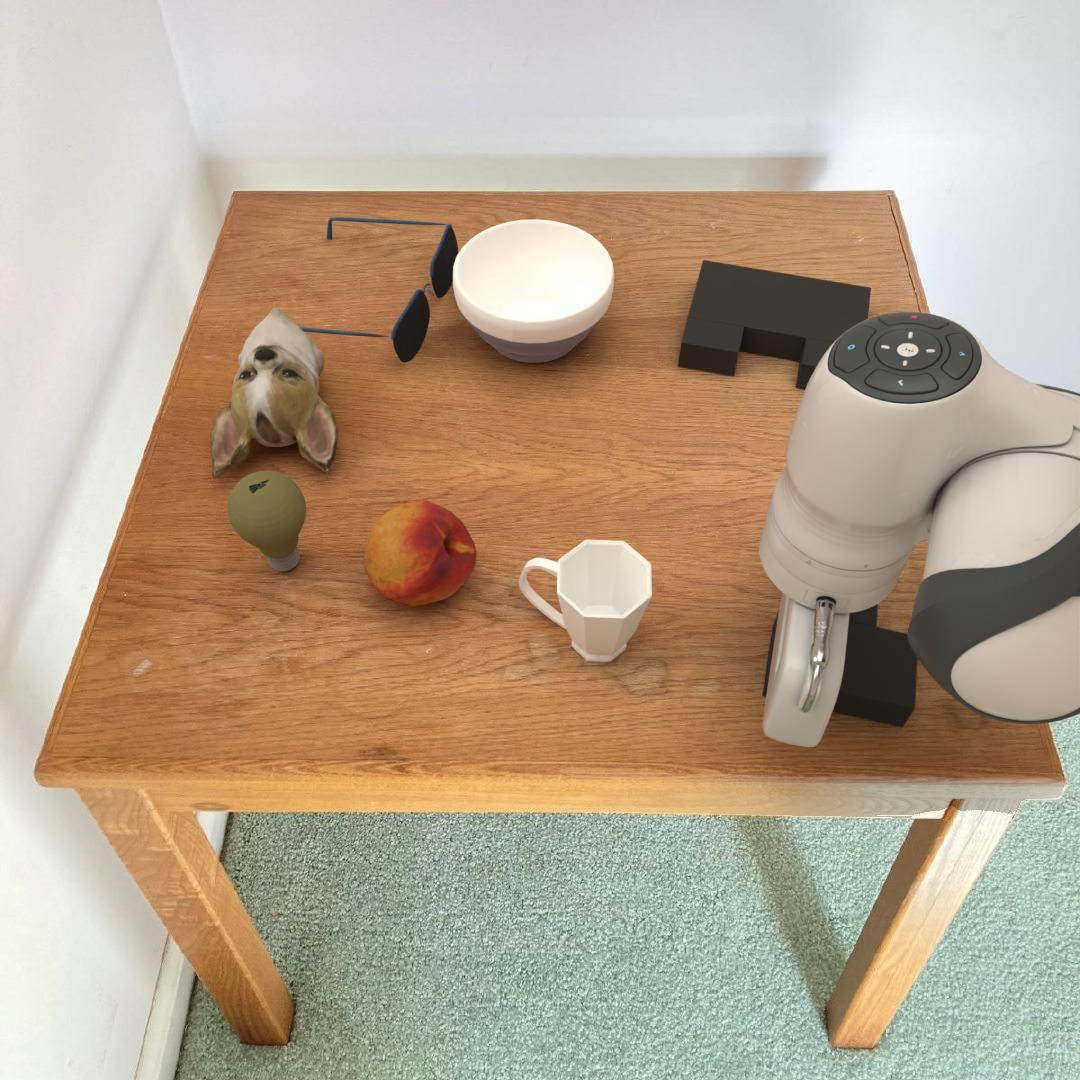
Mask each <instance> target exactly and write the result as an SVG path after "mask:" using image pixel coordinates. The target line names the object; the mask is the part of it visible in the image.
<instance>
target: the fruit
mask: <svg viewBox="0 0 1080 1080" xmlns="http://www.w3.org/2000/svg"><path fill="white" fill-rule="evenodd" d="M477 553H478V552H477V548H476V543H475V541H474V539H473V537H472V535H471V534H470V532H469V529H467V526H466V525H465V524H464V522H463V521H462V520H461V518H459V517H458V516H456V515H455V513H453V512H452V511H451V510H449V509H448V508H445V507H443V506H441V505H439V504H436V503H434V502H431V501H428V500H417V501H410V502H406V503H404V504H401V505H397V506H395V507H393V508H392V509H390V510H388V511H387V512H385V513H384V514H383V515H382V516H380V517H379V518H378V519H377V520H376V522H375V523H373V525H372V527H371V528H370V531H369V533H368V535H367V537H366V539H365V542H364V547H363V552H362V558H363V559H362V560H363V565H364V570H365V572H366V575H367V577H368V579H369V581H370V583H371V584H372V585H373V587H374V588H375V589H376V590H377V591H378V593H380V595H382V596H383V597H385V598H387V599H390V600H392V601H396V602H400V603H402V604H404V605H405V606H406V605H407V606H412V607H413V606H422V605H423V606H424V605H428V604H431V603H436V602H439V601H443V600H446V599H448V598H450V597H451V596H452V595H454V594H455V593H456V592H457V591H458V590H460V589H461V587H462V586H463V585H464V583H466V581H467V580H468V579H469V577H470V575H471V574H472V573H473V570H474V568H475V566H476V564H477V557H478V554H477Z"/></svg>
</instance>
